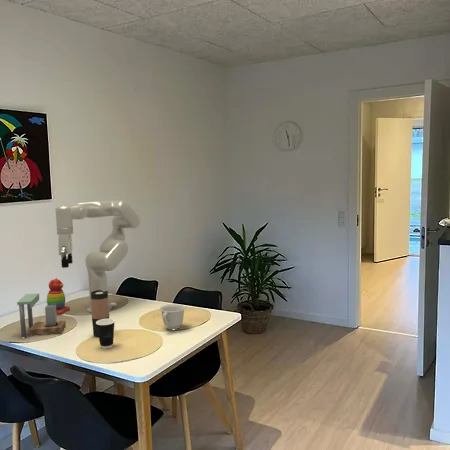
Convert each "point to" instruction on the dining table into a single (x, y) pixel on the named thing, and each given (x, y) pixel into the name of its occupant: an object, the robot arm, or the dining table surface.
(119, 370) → the dining table surface
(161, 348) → the dining table surface
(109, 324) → the dixie cup
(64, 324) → the socket block
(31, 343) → the dining table surface
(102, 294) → the travel mug
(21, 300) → the green topped stand
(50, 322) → the peg
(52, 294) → the rainbow stacking rings
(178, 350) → the dining table surface
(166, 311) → the teacup
